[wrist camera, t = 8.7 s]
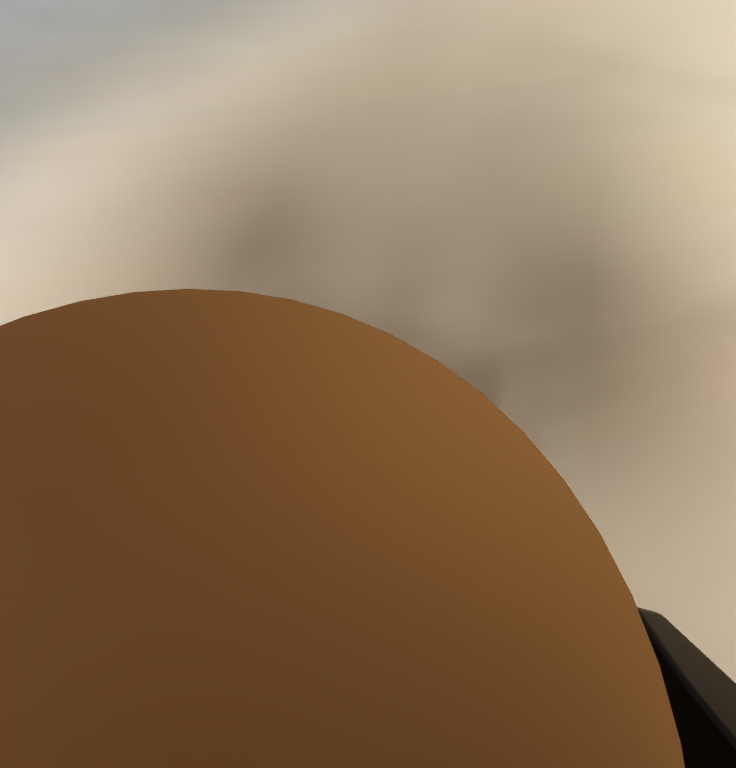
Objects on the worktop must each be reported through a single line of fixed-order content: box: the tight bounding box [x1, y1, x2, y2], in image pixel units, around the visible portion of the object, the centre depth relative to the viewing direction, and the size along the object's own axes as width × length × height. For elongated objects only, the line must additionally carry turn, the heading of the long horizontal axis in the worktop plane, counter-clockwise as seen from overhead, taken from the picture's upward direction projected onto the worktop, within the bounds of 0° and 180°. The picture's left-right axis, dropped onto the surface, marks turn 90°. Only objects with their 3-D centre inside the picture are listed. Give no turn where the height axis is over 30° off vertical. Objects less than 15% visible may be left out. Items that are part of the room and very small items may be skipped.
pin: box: [0, 289, 685, 768], centre depth 9 cm, size 5×5×13 cm
